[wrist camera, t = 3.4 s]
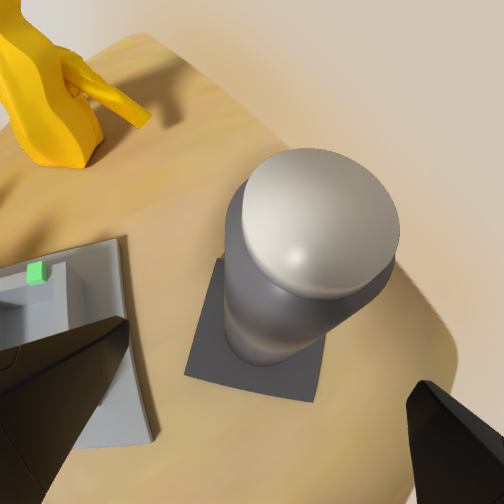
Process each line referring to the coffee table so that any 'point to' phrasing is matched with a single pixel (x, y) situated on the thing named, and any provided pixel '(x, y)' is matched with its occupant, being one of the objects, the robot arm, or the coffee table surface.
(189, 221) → the coffee table surface
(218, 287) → the pad
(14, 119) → the figure statuette
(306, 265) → the grey cylindrical piece
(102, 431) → the port
